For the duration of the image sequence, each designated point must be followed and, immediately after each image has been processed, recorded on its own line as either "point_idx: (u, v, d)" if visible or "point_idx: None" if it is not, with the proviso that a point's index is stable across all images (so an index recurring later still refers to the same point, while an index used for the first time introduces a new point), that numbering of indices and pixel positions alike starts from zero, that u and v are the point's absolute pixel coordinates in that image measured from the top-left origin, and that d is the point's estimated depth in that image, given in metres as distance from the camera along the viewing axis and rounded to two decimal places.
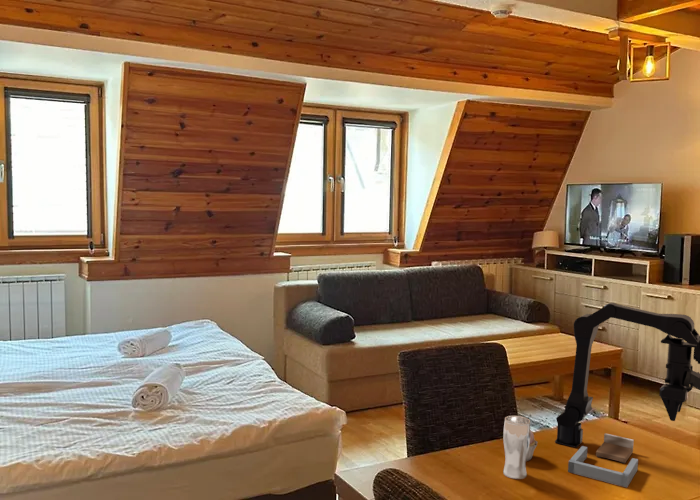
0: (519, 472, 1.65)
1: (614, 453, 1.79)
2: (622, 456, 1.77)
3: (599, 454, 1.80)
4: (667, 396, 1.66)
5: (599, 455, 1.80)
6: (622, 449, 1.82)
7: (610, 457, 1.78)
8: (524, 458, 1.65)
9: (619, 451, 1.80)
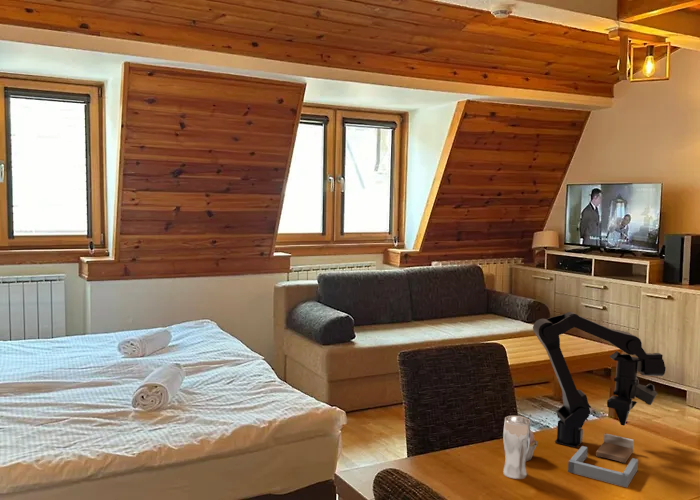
0: (519, 472, 1.65)
1: (614, 453, 1.79)
2: (622, 456, 1.77)
3: (599, 454, 1.80)
4: (613, 407, 1.82)
5: (599, 455, 1.80)
6: (622, 449, 1.82)
7: (610, 457, 1.78)
8: (524, 458, 1.65)
9: (619, 451, 1.80)
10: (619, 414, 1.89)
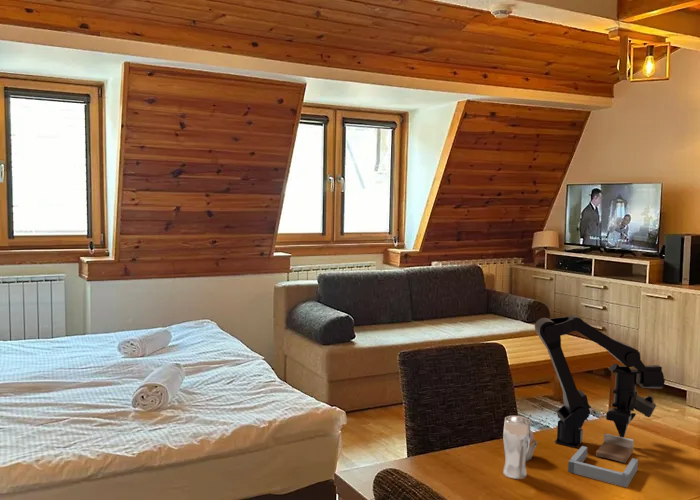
0: (519, 472, 1.65)
1: (614, 453, 1.79)
2: (622, 456, 1.77)
3: (599, 454, 1.80)
4: (612, 420, 1.82)
5: (599, 455, 1.80)
6: (622, 449, 1.82)
7: (610, 457, 1.78)
8: (524, 458, 1.65)
9: (619, 451, 1.80)
10: (618, 426, 1.89)
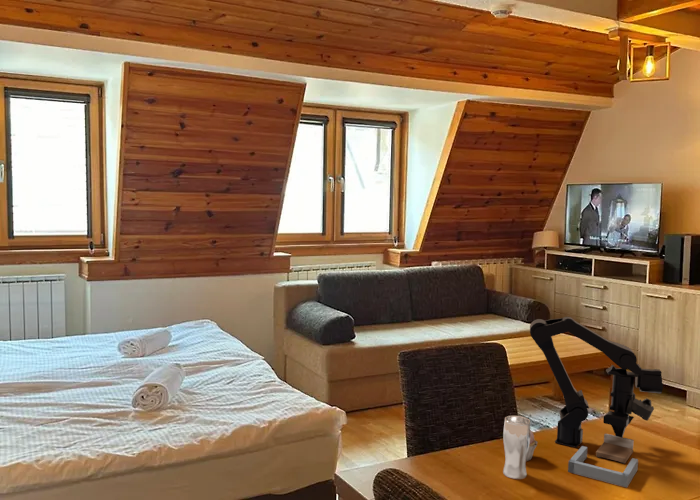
0: (519, 472, 1.65)
1: (614, 453, 1.79)
2: (622, 456, 1.77)
3: (598, 454, 1.80)
4: (610, 423, 1.79)
5: (599, 455, 1.80)
6: (621, 449, 1.82)
7: (610, 457, 1.78)
8: (524, 458, 1.65)
9: (619, 452, 1.80)
10: (616, 429, 1.86)
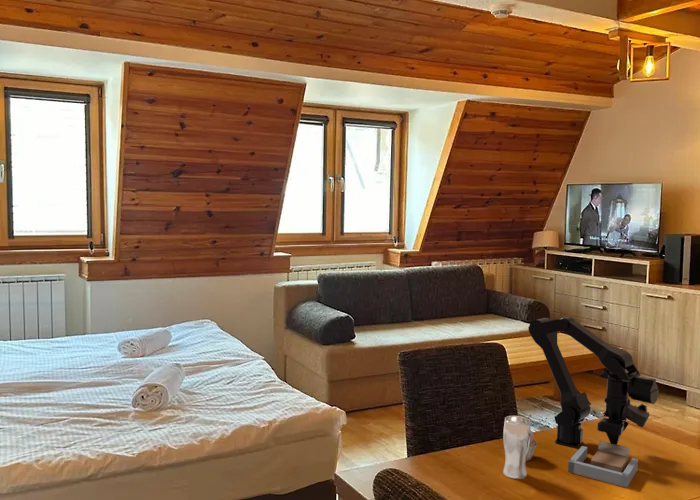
0: (519, 472, 1.65)
1: (609, 462, 1.73)
2: (618, 465, 1.71)
3: (593, 462, 1.74)
4: (604, 430, 1.73)
5: (594, 464, 1.74)
6: (617, 457, 1.76)
7: (605, 466, 1.72)
8: (524, 458, 1.65)
9: (614, 460, 1.74)
10: (610, 436, 1.80)
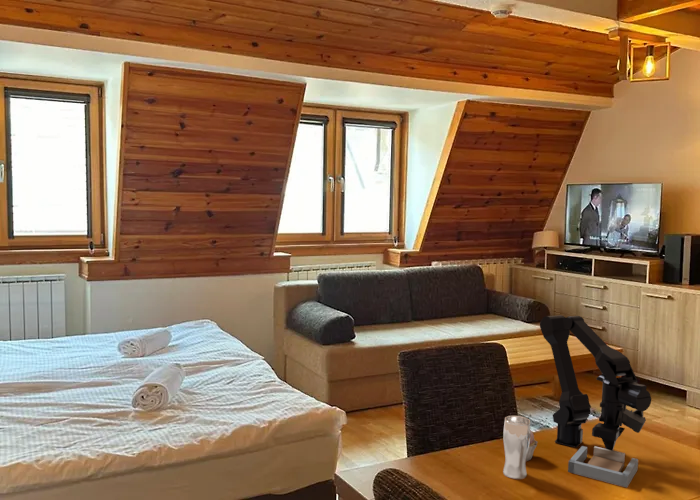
0: (519, 472, 1.65)
1: None
2: None
3: None
4: (599, 436, 1.69)
5: None
6: (612, 463, 1.72)
7: None
8: (524, 458, 1.65)
9: (610, 466, 1.70)
10: (606, 442, 1.76)
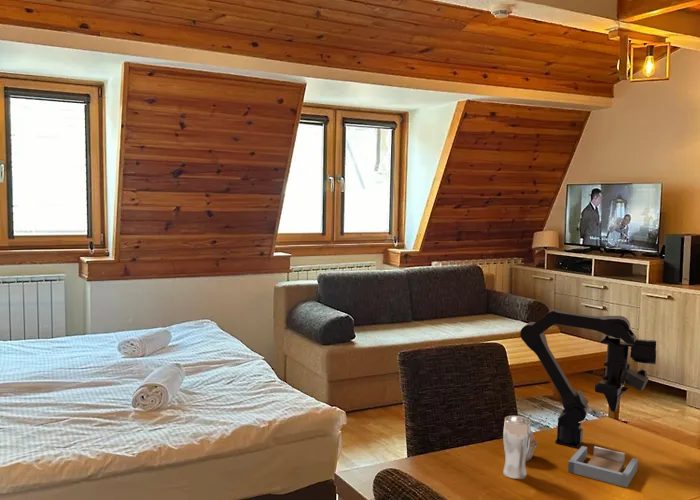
0: (519, 472, 1.65)
1: None
2: None
3: None
4: (601, 392, 1.77)
5: None
6: (612, 463, 1.72)
7: None
8: (524, 458, 1.65)
9: (609, 466, 1.70)
10: (609, 400, 1.84)
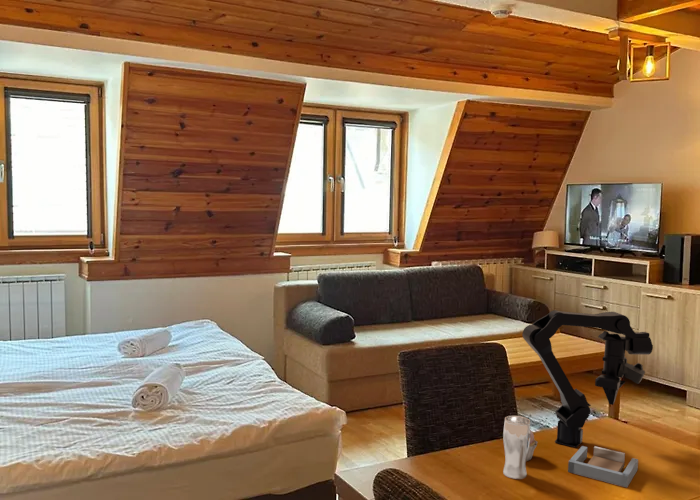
0: (519, 472, 1.65)
1: None
2: None
3: None
4: (601, 386, 1.83)
5: None
6: (612, 463, 1.72)
7: None
8: (524, 458, 1.65)
9: (609, 466, 1.70)
10: (608, 393, 1.90)
